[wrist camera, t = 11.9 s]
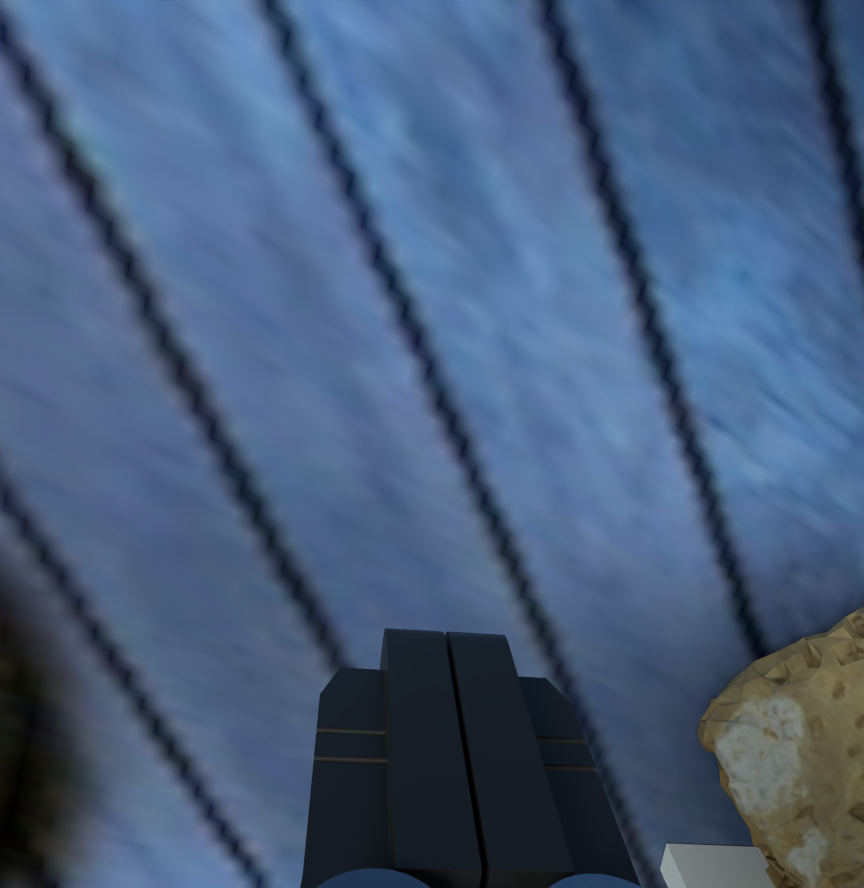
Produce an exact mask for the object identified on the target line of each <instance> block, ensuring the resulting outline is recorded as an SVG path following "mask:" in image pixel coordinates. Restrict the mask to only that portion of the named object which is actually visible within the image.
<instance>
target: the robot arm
mask: <svg viewBox="0 0 864 888" xmlns="http://www.w3.org/2000/svg"><path fill="white" fill-rule="evenodd" d="M300 888H642V887H641V885H640V883H639V881H638V878H637V875H636V873H635V870H634V867H633V865H632V862H631V859H630V857H629V854H628V852H627V849H626V846H625V844H624V841H623V838H622V836H621V833H620V830H619V828H618V825H617V822H616V820H615V817H614V814H613V812H612V809H611V806H610V804H609V801H608V798H607V796H606V793H605V791H604V788H603V785H602V783H601V780H600V777H599V775H598V773H595V764H594V761H593V759H592V756H591V753H590V751H589V748H588V745H585V738H584V735H583V732H582V730H581V727H580V724H579V722H578V719H577V716H576V714H575V711H574V708H573V706H572V705H571V704H570V703H569V702H568V701H567V700H566V699H565V698H564V697H563V695H562V694H561V693H560V692H559V691H558V690H557V689H556V688H555V687H554V686H553V685H552V684H551V683H550V682H549V681H548V680H547V679H546V678H534V677H518V675H517V671H516V668H515V664H514V661H513V658H512V654H511V651H510V647H509V644H508V641H507V638H506V636H505V635H497V634H480V633H462V632H446V634H445V635H444V633H443V632H441V631H423V630H406V629H388V628H386V629H385V631H384V637H383V644H382V653H381V663H380V670H375V669H355V668H340V669H339V670H338V671H337V673H336V674H335V675H334V677H333V678H332V679H331V681H330V682H329V683H328V685H327V686H326V687H325V688H324V690H323V691H322V692H321V694H320V701H319V711H318V721H317V733H316V742H315V753H314V763H313V774H312V784H311V795H310V805H309V815H308V826H307V836H306V847H305V857H304V868H303V877H302V882H301V887H300Z"/></svg>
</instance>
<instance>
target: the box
mask: <svg viewBox="0 0 864 888" xmlns="http://www.w3.org/2000/svg"><path fill="white" fill-rule="evenodd" d="M768 866H769V864H768V862H767V861H766V859H765V857H764V855H763V854H762V852H761V850H760V849H759V848H758V847H745V846H720V845H694V844H668V843H666V847H665V851H664V855H663V859H662V863H661V867H660V870H661V872H662V874H663V877H664V879H665V882H666V884H667V886H668V888H775V886H774V885H773V883H772V881H771V879H770V878H769V876H768V874H767V873H766V871H765V870H766V869H767V868H768Z"/></svg>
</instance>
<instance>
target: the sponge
mask: <svg viewBox="0 0 864 888" xmlns="http://www.w3.org/2000/svg"><path fill="white" fill-rule="evenodd" d="M697 736H698V739H699V741H700V743H701V745H702V747H703V748H704V749H705V750H706V751H708V752H711V753H715V755H716V756H717V758H718V764H719V773H720V782H721V786H722V787H723V789H724V790H725V791H726V793H727V794H728V795H729V797H730V798H731V800H732V801H733V802H734V804H735V806H736V808H737V810H738V812H739V814H740V815H741V816H742V818H743V820H744V821H745V823H746V824H747V826H748V827H749V829H750V833H751V838H752V842H753V845H754V846H756V847H758V848H759V849H760V850H761V852H762V854H763V855H764V857H765V859H766V861H767V862H768V864H769V866H768V868H767V869H766V870H765V871H766V873H767V874H768V876H769V878H770V879H771V881H772V883H773V885H774V886H775V888H864V606H863V607H862V608H860V609H858V610H856V611H855V612H853V613H851V614H849V615H847V616H846V617H845V618H843V619H842V620H841V621H840V622H838V623H837V624H836V625H835V626H833V627H832V628H831V629H829V630H828V631H827V632H825V633H820V634H816V635H811V636H806V637H804V638H802V639H800V640H799V641H797V642H796V643H793V644H791V645H789V646H787V647H785V648H783V649H781V650H779V651H777V652H775V653H773V654H770V655H768V656H766V657H763V658H761V659H759V660H756V661H754V662H753V663H752V664H750V665H749V666H748V667H746V668H745V669H744V670H743V671H742V672H741V673H740V674H738V675H737V676H736V677H735V678H734V679H733V680H732V681H731V682H729V683H728V684H727V686H726V687H725V688H724V689H723V690H722V691H721V692H720V694H719V695H718V696H717V698H716V699H714V698H712V700H711V702H710V704H709V707H708V709H707V711H706V712H705V714H704V715H703V716H702V718H701V719H700V723H699V727H698V731H697Z"/></svg>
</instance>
